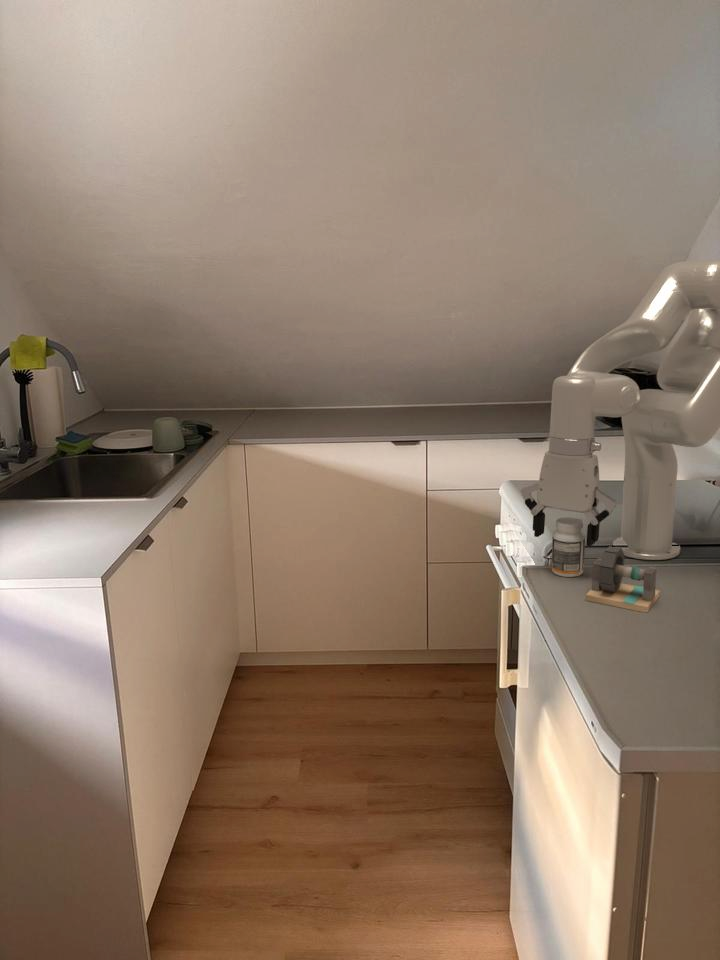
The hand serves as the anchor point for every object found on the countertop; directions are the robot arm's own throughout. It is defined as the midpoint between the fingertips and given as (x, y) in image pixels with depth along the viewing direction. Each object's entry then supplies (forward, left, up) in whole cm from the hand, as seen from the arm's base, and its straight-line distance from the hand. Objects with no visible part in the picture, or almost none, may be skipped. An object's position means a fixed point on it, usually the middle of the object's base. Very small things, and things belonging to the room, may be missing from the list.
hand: (564, 539), depth 139 cm
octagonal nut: (+6, +10, -5) cm, 13 cm away
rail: (+6, +12, -7) cm, 15 cm away
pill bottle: (-1, 0, -7) cm, 7 cm away
